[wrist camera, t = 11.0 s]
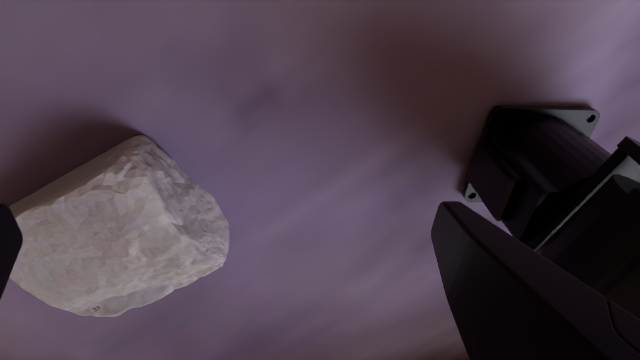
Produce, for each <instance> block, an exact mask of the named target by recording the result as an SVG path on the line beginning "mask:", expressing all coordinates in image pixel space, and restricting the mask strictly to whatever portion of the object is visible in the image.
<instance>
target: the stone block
mask: <svg viewBox="0 0 640 360" xmlns="http://www.w3.org/2000/svg"><path fill="white" fill-rule="evenodd" d="M9 207H10V209H11V211H12V213H13V215H14V217H15V219H16V221H17V223H18V226H19V228H20V230H21V232H22V235H23V243H22V247H21V249H20V252H19V254H18V257H17V259H16V262H15V264H14V267H13V269H12V272H11V274H10V277H9V278H11V279H12V280H13V281H14V282H15V283H16V284H18V285H19V286H20V287H22V288H23V289H25V290H26V291H28V292H30V293H31V294H32V295H34V296H35V297H36V298H38V299H41V300H42V301H44V302H45V303H47V304H48V305H50V306H53V307H57V308H60V309H63V310H67V311H71V312H73V313H75V314H77V315H80V316H84V315H93V316H96V317H115V316H118V315H121V314H122V313H123V312H125V311H126V310H128V309H131V308H135V307H141V306H144V305H147V304H149V303H152V302H154V301H156V300H158V299H161V298H163V297H164V296H166V295H167V294H169V293H171V292H172V291H173V290H174V289H178V288H181V287H183V286H187V285H188V284H190V283H192V282H194V281H195V280H197V279H198V278H199V277H204V276H206V275H207V274H209V273H211V272H213V271H215V270H216V269H218V268H220V267H221V266H222V265H223V264H224V261H225V260H226V256H227V253H228V249H229V223H228V221H227V219H226V217H225V216H224V215H223V213H222V211H221V209H220V208H219V205H218V203H217V202H216V200H215V199H214V197H213V196H211V195H210V194H209V193H207V192H206V191H205V190H203V189H202V188H201V187H200V186H199V185H198V183H196V182H194V181H193V180H191V179H189V178H188V177H187V176H186V175H185V174H184V173H183V172H182V171H181V169H180V168H179V166H178V165H177V164H176V162H175V161H174V160H173V159H172V158H170V157H169V156H168V155H167V154H166V153H165V152H163V151H162V150H161V149H160V148H159V147H158V146H157V145H156V144H155V143H154V142H153V141H152V140H151V139H150V138H149V137H147V136H145V135H138V136H134V137H131V138H129V139H128V140H125V141H123V142H121V143H120V144H118V145H116V146H114V147H113V148H111V149H110V150H108V151H106V152H104V153H102V154H101V155H99V156H97V157H95V158H93V159H92V160H90V161H88V162H87V163H85V164H83V165H81V166H79V167H77V168H76V169H74V170H72V171H70V172H68V173H67V174H65V175H63V176H62V177H60V178H58V179H56V180H54V181H52V182H51V183H49V184H47V185H46V186H44V187H42V188H40V189H39V190H37V191H36V192H34V193H32V194H30V195H28V196H26V197H24V198H23V199H21V200H19V201H17V202H15V203H13V204H11V205H10V206H9Z"/></svg>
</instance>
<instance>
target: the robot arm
mask: <svg viewBox="0 0 640 360" xmlns="http://www.w3.org/2000/svg"><path fill="white" fill-rule="evenodd" d="M501 112H502V114H501V116H499V117H497V118H496V116H497V115H498V114H499V113H501ZM590 115H591V116H590ZM589 116H590V118H588V117H589ZM587 118H588V119H587ZM599 118H600V113H599V112H598V111H597V110H595V109H593V108H582V107H545V106H508V105H499V106H496V107H494V108H493V109H491V111H490V112H489V115H488V118H487V121H486V124H485V127H484V130H483V133H482V136H481V139H480V141H479V142H478V143H477V145H476V148H475V151H474V154H473V157H472V160H471V163H470V166H469V169H468V172H467V175H466V178H467V180H466V183H465V186H464V189H463V192H462V195H463V197H464V199H465V200H466V201H468V202H483V203H484V204H485V206H486V207H487V208H488V210H489V211H490V213H491V214H492V216H493V217H494V218H495V220H497V221H502V222H503V223H504V225H505V226H506V227H507V229H508V230H509V232H510V233H511V234H512V236H511V235H510V234H508V233H507V232H505V231H504V230H502V229H501V228H499V227H497V226H496V225H494V224H493V223H491V222H490V221H488V220H487V219H485V218H484V217H482V216H481V215H479V214H478V213H476V212H475V211H473V210H472V209H470V208H469V207H467V206H465V205H464V204H462V203H461V202H458V201H444V202H441V203H440V205H439V206H438V209H437V213H436V216H435V219H434V222H433V226H432V230H431V238H432V243H433V247H434V251H435V255H436V258H437V262H438V266H439V270H440V274H441V278H442V282H443V286H444V290H445V294H446V297H447V300H448V303H449V306H450V309H451V311H452V314H453V317H454V319H455V322H456V325H457V327H458V330H459V333H460V335H461V338H462V341H463V343H464V346H465V349H466V351H467V354H468V357H469V359H470V360H640V142H638V141H636V140H634V139H632V138H630V137H627V136H626V137H625V138H624V139H623V140H622V141H621V142H620V143H619V144H618V145H617V147H618V148H617V149H616V150H615V151H614V153H613V154H612V155H611V154H610V153H609V152H607V151H606V150H605V149H603V148H602V147H601V146H599V145H598V144H597V143H595V142H594V141H593V140H591V139H590V136H591V134H592V132H593V130H594V128H595V126H596V124H597V122H598V120H599ZM470 193H473V194H471V195H469V194H470ZM22 243H23V235H22V232H21V230H20V228H19V226H18V223H17V221H16V219H15V217H14V215H13V213H12V211H11V209H10V207H9V206H8V205H6V204H4V203H0V299H1V297H2V294H3V292H4V289H5V287H6V284H7V282H8V279H9V277H10V274H11V272H12V269H13V267H14V264H15V262H16V259H17V257H18V254H19V252H20V249H21V247H22Z"/></svg>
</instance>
